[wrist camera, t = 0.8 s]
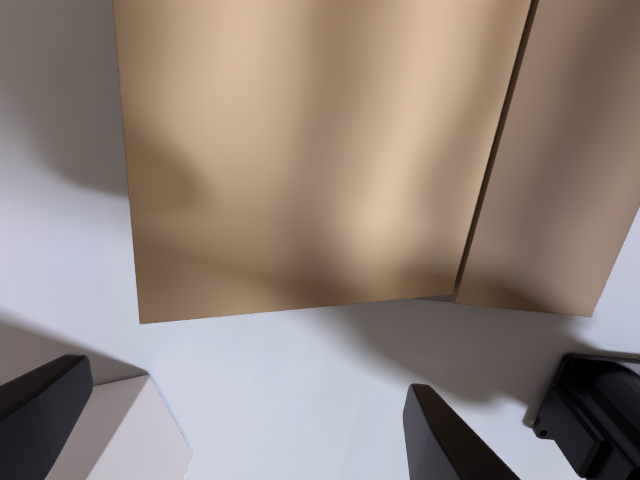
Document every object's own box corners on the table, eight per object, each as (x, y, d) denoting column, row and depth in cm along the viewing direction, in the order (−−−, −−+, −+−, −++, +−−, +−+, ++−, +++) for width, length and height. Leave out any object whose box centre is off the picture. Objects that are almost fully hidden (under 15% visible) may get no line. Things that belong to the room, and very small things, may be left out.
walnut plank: (734, -116, 14) (794, -147, 12) (568, 298, 21) (590, 317, 19) (554, -141, 14) (587, -175, 12) (443, 285, 20) (455, 303, 19)
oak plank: (528, -130, 14) (573, -156, 12) (430, 277, 20) (451, 294, 18) (96, -313, 9) (79, -396, 7) (143, 298, 15) (139, 324, 14)
